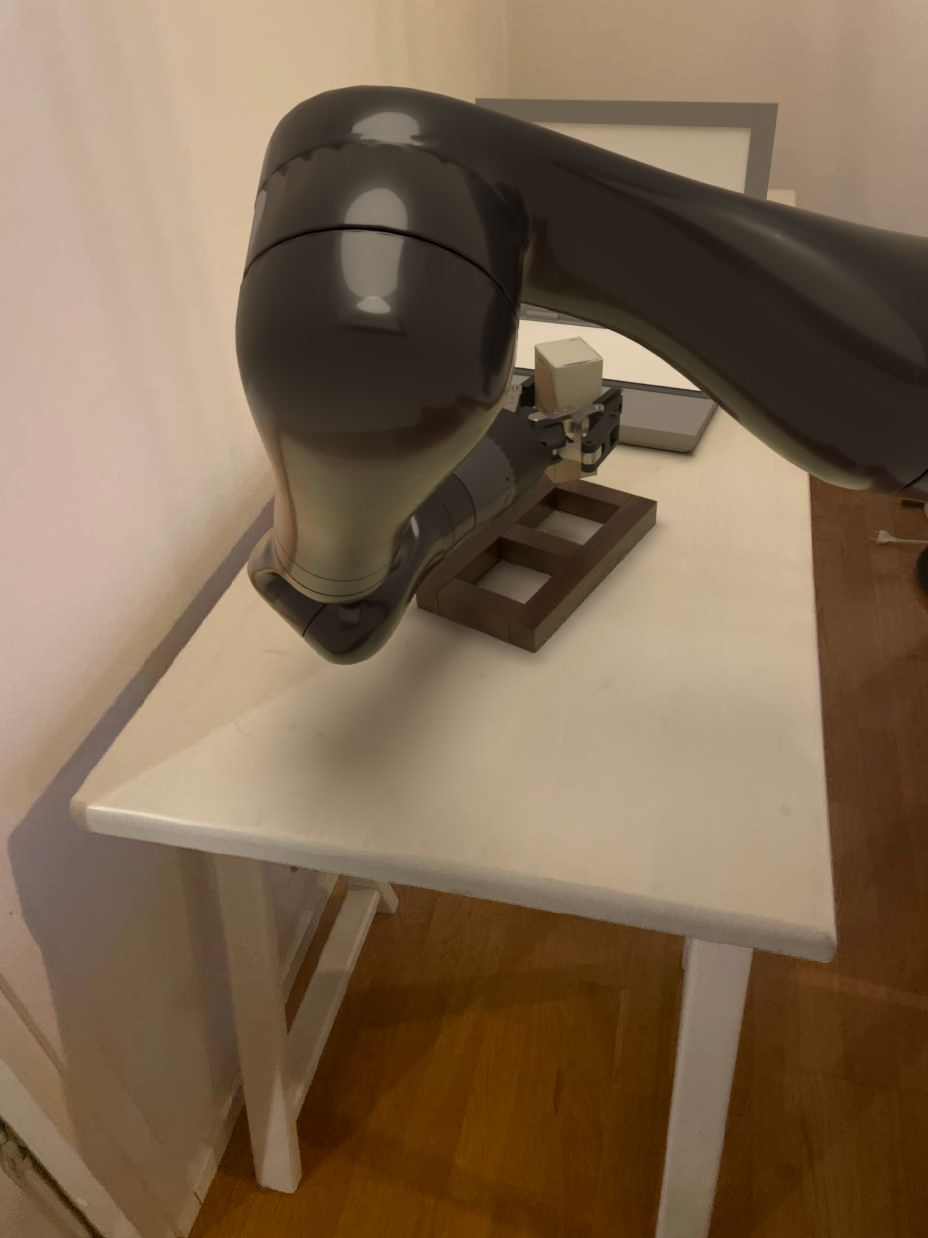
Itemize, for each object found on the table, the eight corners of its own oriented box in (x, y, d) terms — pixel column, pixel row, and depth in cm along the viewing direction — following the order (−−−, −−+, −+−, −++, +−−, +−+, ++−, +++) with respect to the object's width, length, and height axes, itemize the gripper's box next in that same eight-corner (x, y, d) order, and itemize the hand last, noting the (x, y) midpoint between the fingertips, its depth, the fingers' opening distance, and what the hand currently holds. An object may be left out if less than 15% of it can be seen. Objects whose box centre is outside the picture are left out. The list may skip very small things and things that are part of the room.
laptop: (401, 412, 111) (370, 152, 93) (491, 327, 129) (479, 96, 112) (693, 458, 99) (721, 167, 81) (747, 356, 117) (780, 100, 99)
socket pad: (656, 523, 90) (657, 500, 88) (535, 653, 76) (534, 629, 75) (546, 490, 96) (546, 469, 94) (416, 606, 82) (413, 583, 81)
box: (533, 459, 86) (531, 342, 79) (577, 449, 86) (579, 333, 80) (554, 486, 82) (555, 365, 75) (600, 476, 82) (605, 356, 76)
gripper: (553, 453, 65) (660, 364, 76) (392, 409, 72) (510, 333, 83) (553, 542, 70) (653, 447, 80) (402, 493, 77) (512, 411, 87)
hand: (580, 389), depth 81 cm, fingers closed on box, 6 cm apart
